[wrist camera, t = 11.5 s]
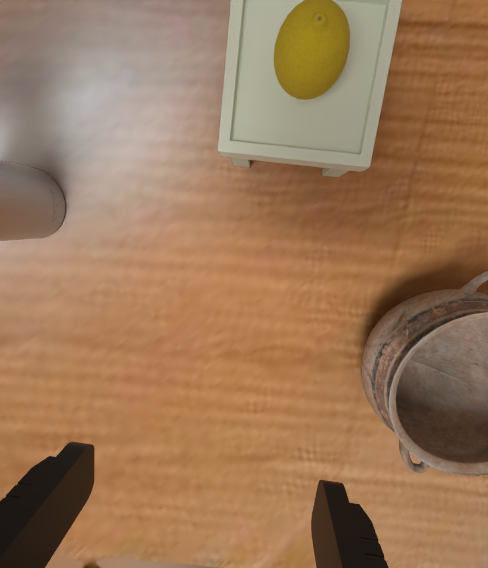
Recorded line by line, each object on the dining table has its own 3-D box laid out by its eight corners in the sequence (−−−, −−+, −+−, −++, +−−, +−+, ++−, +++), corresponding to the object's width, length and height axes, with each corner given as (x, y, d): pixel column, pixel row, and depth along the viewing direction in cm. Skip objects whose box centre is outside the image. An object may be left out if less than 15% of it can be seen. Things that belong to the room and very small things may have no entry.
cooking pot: (448, 439, 42) (521, 524, 30) (322, 406, 42) (345, 478, 31) (525, 276, 37) (651, 302, 25) (381, 239, 37) (437, 247, 25)
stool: (229, 169, 36) (217, 151, 27) (242, 42, 34) (233, -30, 24) (341, 182, 36) (369, 167, 26) (364, 53, 33) (405, -16, 23)
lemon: (315, 30, 25) (339, -57, 17) (345, 90, 26) (380, 33, 18) (260, 69, 26) (259, 3, 18) (290, 126, 27) (302, 86, 19)
